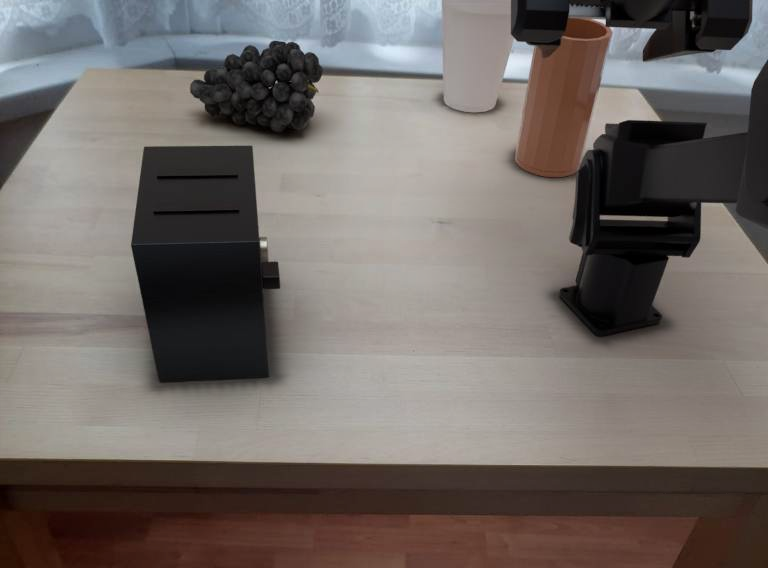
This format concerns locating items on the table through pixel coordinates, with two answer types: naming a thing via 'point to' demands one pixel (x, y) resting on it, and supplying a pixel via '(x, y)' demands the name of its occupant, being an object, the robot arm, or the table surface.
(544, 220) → the table surface
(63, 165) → the table surface
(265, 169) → the table surface
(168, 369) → the toaster
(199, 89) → the fruit
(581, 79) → the brown cylindrical vase
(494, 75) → the foam cup
